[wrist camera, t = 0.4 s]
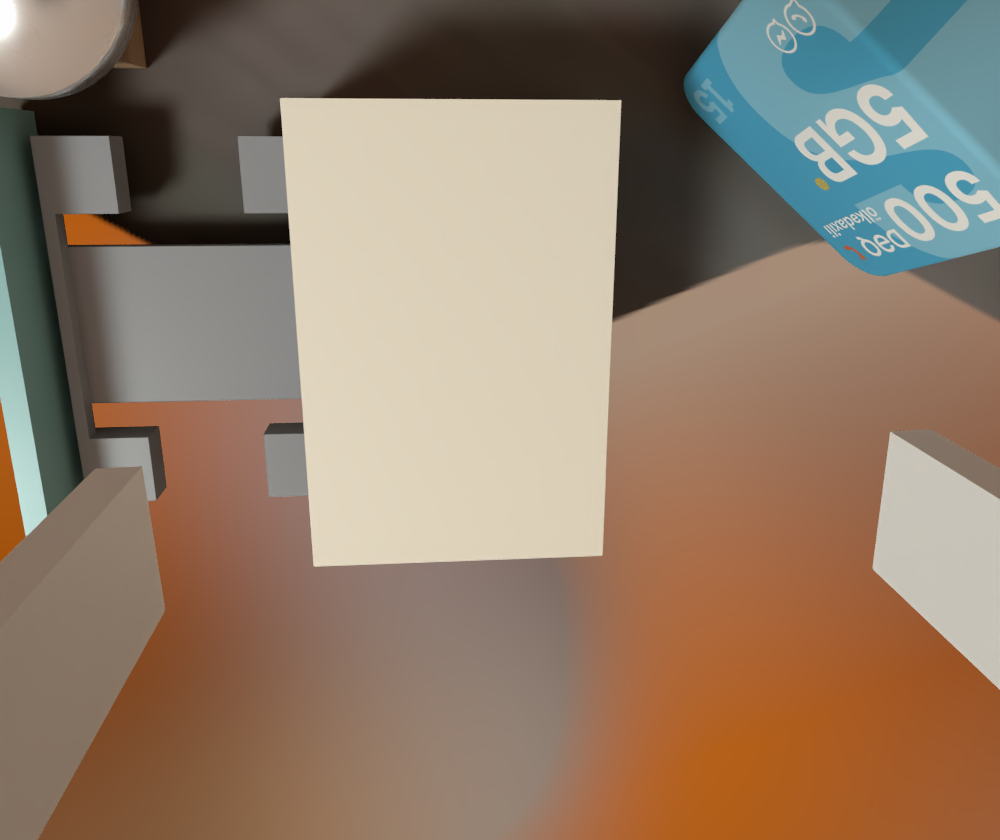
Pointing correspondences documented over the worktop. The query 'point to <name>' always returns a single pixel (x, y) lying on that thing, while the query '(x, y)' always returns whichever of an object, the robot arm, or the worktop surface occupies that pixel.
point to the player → (453, 323)
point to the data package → (866, 120)
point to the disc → (60, 44)
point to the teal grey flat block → (131, 318)
